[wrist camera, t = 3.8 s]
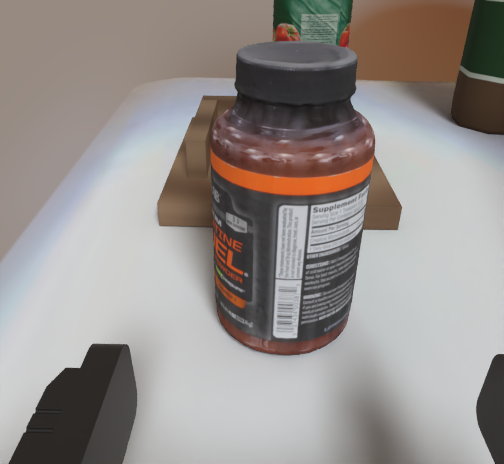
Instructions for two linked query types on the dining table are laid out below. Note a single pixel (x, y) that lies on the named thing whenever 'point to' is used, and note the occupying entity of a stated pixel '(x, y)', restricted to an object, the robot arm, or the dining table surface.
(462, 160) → the dining table surface
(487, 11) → the beer bottle
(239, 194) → the supplement bottle
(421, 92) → the dining table surface
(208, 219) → the walnut dock
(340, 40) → the canned tomato
